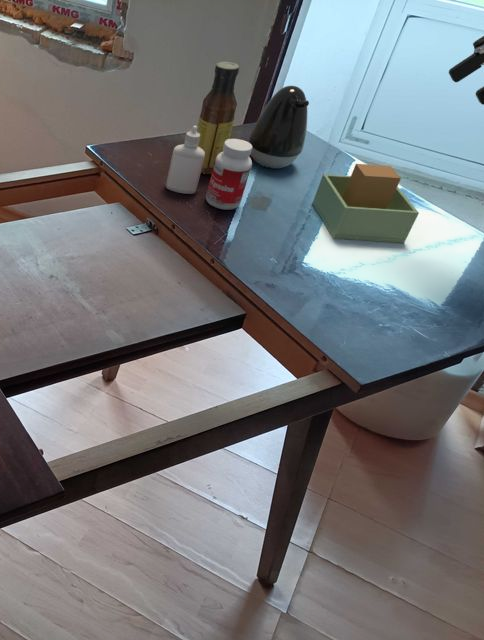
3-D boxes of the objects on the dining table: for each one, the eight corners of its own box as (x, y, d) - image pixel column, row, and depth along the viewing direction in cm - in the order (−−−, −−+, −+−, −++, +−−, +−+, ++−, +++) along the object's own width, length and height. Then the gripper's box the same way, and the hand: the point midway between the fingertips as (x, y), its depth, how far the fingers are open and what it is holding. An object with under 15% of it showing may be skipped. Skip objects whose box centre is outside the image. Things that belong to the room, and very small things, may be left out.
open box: (378, 207, 125) (391, 178, 122) (404, 243, 116) (419, 212, 112) (312, 203, 125) (323, 173, 121) (332, 238, 116) (345, 207, 112)
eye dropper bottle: (185, 198, 124) (201, 135, 116) (161, 186, 127) (174, 124, 119) (200, 191, 126) (215, 128, 118) (175, 180, 129) (189, 118, 121)
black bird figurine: (260, 176, 132) (284, 98, 122) (235, 153, 140) (256, 77, 130) (306, 173, 135) (334, 96, 125) (279, 150, 142) (303, 76, 132)
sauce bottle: (222, 165, 135) (249, 61, 122) (221, 179, 131) (250, 73, 118) (188, 160, 136) (212, 57, 123) (187, 174, 132) (211, 68, 119)
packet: (379, 225, 118) (401, 178, 113) (345, 223, 118) (365, 175, 113) (370, 212, 122) (391, 165, 116) (336, 210, 122) (355, 163, 116)
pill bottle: (198, 200, 124) (212, 142, 116) (217, 191, 127) (233, 133, 120) (227, 214, 120) (244, 155, 113) (246, 204, 124) (264, 146, 116)
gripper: (554, -31, 93) (433, 51, 101) (619, -4, 83) (478, 85, 90) (570, 14, 97) (452, 89, 104) (635, 45, 86) (498, 127, 94)
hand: (464, 87), depth 97 cm, fingers open, 8 cm apart
